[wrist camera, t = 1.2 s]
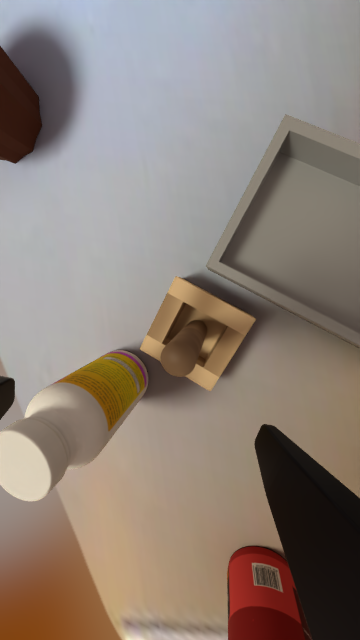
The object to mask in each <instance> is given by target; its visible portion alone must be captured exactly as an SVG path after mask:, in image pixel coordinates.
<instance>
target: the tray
mask: <svg viewBox="0 0 360 640" xmlns="http://www.w3.org/2000/svg"><path fill="white" fill-rule="evenodd" d="M206 267H207V268H208V270H210V271H212V272H214V273H216V274H218V275H220V276H222V277H224V278H226V279H228V280H230V281H231V282H233V283H235V284H237V285H239V286H241V287H243V288H245V289H247V290H249V291H251V292H253V293H255V294H256V295H258V296H260V297H262V298H264V299H266V300H268V301H270V302H272V303H274V304H276V305H278V306H280V307H281V308H283V309H285V310H287V311H289V312H291V313H293V314H295V315H297V316H299V317H301V318H303V319H304V320H306V321H308V322H310V323H312V324H314V325H316V326H318V327H320V328H322V329H324V330H326V331H328V332H329V333H331V334H333V335H335V336H337V337H339V338H341V339H343V340H345V341H347V342H349V343H351V344H353V345H354V346H356V347H358V348H360V144H359V143H356V142H354V141H351V140H349V139H346V138H344V137H341V136H339V135H336V134H334V133H331V132H329V131H326V130H324V129H321V128H319V127H316V126H314V125H311V124H309V123H306V122H304V121H301V120H299V119H296V118H294V117H291V116H289V115H286V114H285V116H284V118H283V120H282V122H281V124H280V126H279V128H278V130H277V131H276V133H275V135H274V137H273V139H272V141H271V143H270V145H269V147H268V149H267V150H266V152H265V154H264V156H263V158H262V160H261V162H260V164H259V166H258V168H257V170H256V171H255V173H254V175H253V177H252V179H251V181H250V183H249V185H248V187H247V189H246V190H245V192H244V194H243V196H242V198H241V200H240V202H239V204H238V206H237V208H236V209H235V211H234V213H233V215H232V217H231V219H230V221H229V223H228V225H227V227H226V228H225V230H224V232H223V234H222V236H221V238H220V240H219V242H218V244H217V246H216V247H215V249H214V251H213V253H212V255H211V257H210V259H209V261H208V263H207V265H206Z"/></svg>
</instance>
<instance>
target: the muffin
mask: <svg viewBox="0 0 360 640" xmlns="http://www.w3.org/2000/svg"><path fill="white" fill-rule="evenodd" d="M41 127H42V123H41V117H40V112H39V97H38V95H37V94H36V93H35V91H34V90H33V89H32V87H31V86H30V85H29V84H28V82H27V81H26V80H25V78H24V77H23V75H22V74H21V73H20V71H19V70H18V69H17V67H16V66H15V65H14V64H13V62H12V61H11V60H10V58H9V57H8V56H7V54H6V53H5V52H4V50H3V49H2V48H1V46H0V160H7V161H10V162H12V163H17V162H18V161H19V160H20V159H21V158H22V157H23V156H25V155H27V154H29V153H31V152H32V151H33V149H34V145H35V142H36V138H37V136H38V134H39V132H40V129H41Z"/></svg>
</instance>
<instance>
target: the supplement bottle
mask: <svg viewBox="0 0 360 640" xmlns="http://www.w3.org/2000/svg"><path fill="white" fill-rule="evenodd" d="M147 386H148V373H147V370H146V367H145V365H144V364H143V362H142V361H141V360H140V359H139V358H138V357H137V356H136V355H134V354H132V353H130V352H128V351H123V350H116V351H112V352H109V353H107V354H105V355H103V356H102V357H100V358H98V359H96V360H95V361H93V362H91V363H89V364H87V365H86V366H84V367H82V368H80V369H78V370H77V371H75V372H73V373H71V374H69V375H68V376H66V377H64V378H62V379H61V380H59V381H57V382H55V383H53V384H51V385H50V386H48V387H46V388H44V389H43V390H41V391H40V392H39V393H38V394H37V395H36V396H35V397H34V398H33V399H32V400H31V402H30V404H29V405H28V408H27V410H26V413H25V418H24V419H21V420H18V421H16V422H14V423H13V424H11V425H10V426H8V427H6V428H5V429H3V430H2V431H0V485H1V486H2V487H3V488H4V489H5V490H6V491H7V492H9V493H10V494H11V495H12V496H14V497H16V498H19V499H21V500H25V501H37V500H40V499H42V498H43V497H45V496H46V495H47V494H48V493H49V492H50V491H51V490H52V488H53V487H54V486H55V485H56V484H57V483H58V482H59V481H60V480H61V479H62V477H63V476H64V474H65V471H66V470H69V469H77V468H80V467H83V466H85V465H87V464H88V463H90V462H91V461H93V460H94V459H95V458H96V457H97V456H98V455H99V453H100V452H101V451H102V449H103V448H104V447H105V446H106V444H107V443H108V441H109V440H110V439H111V437H112V436H113V435H114V433H115V432H116V431H117V429H118V428H119V427H120V425H121V424H122V423H123V422H124V420H125V419H126V418H127V416H128V415H129V414H130V412H131V411H132V410H133V408H134V407H135V406H136V404H137V403H138V402H139V400H140V399H141V398H142V396H143V395H144V393H145V392H146V389H147Z"/></svg>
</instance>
